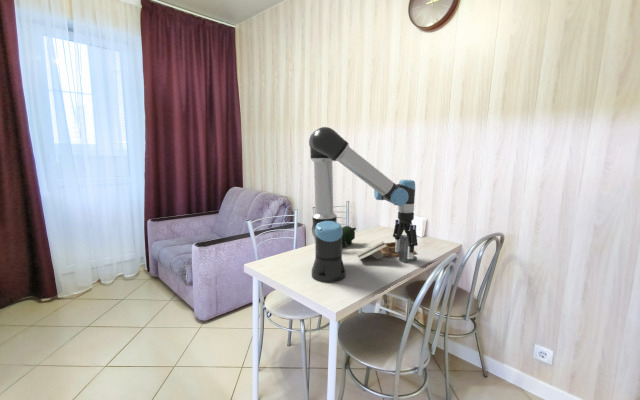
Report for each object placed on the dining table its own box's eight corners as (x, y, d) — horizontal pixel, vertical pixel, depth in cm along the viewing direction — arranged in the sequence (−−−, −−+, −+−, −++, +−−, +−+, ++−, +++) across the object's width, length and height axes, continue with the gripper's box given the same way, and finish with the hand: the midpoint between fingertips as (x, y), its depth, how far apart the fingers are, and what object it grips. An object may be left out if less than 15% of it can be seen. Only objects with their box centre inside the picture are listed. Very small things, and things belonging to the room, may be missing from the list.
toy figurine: (331, 255, 163) (362, 242, 179) (329, 222, 159) (361, 212, 175) (320, 251, 170) (350, 239, 186) (318, 219, 166) (349, 209, 182)
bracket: (403, 262, 148) (404, 237, 146) (398, 260, 152) (399, 235, 149) (416, 260, 150) (418, 236, 148) (412, 258, 154) (413, 233, 152)
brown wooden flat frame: (387, 257, 155) (387, 250, 154) (374, 249, 168) (374, 242, 167) (416, 253, 161) (416, 246, 160) (401, 246, 174) (401, 239, 173)
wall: (370, 273, 145) (394, 253, 144) (359, 260, 145) (382, 240, 144) (367, 266, 161) (389, 248, 160) (357, 253, 161) (378, 235, 161)
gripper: (427, 215, 137) (424, 261, 140) (399, 207, 158) (397, 247, 161) (413, 216, 134) (411, 263, 138) (387, 207, 155) (385, 249, 159)
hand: (403, 255), depth 150 cm, fingers open, 10 cm apart
